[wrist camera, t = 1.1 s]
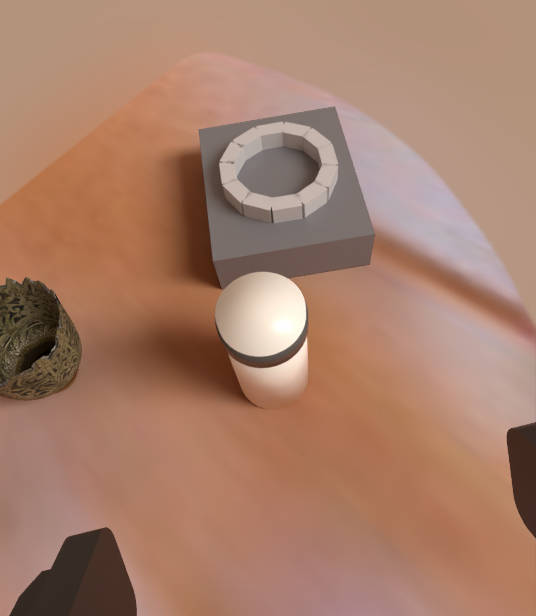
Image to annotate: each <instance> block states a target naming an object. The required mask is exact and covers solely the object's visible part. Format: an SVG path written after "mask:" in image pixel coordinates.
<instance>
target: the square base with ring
mask: <svg viewBox="0 0 536 616" xmlns="http://www.w3.org/2000/svg"><path fill="white" fill-rule="evenodd" d="M199 138H200V148H201V157H202V166H203V175H204V184H205V193H206V203H207V212H208V221H209V230H210V239H211V248H212V258H213V263H214V266H215V269H216V272H217V276H218V279H219V282H220V285H221V288H222V289H225V288H226V287H227V286H228V285H229V284H230V283H232V282H233V281H234V280H236V279H237V278H239V277H241V276H244V275H246V274H250V273H254V272H272V273H276V274H279V275H282V276H284V277H286V278H292V277H298V276H304V275H310V274H316V273H322V272H328V271H334V270H340V269H346V268H352V267H358V266H364V265H370V260H371V254H372V248H373V242H374V236H375V233H374V230H373V226H372V223H371V220H370V217H369V214H368V210H367V207H366V204H365V201H364V198H363V194H362V191H361V188H360V185H359V182H358V178H357V175H356V172H355V169H354V166H353V163H352V159H351V156H350V153H349V150H348V147H347V143H346V140H345V137H344V134H343V131H342V127H341V124H340V121H339V118H338V115H337V111H336V108H335V107H329V108H323V109H317V110H311V111H305V112H299V113H294V114H288V115H282V116H276V117H270V118H264V119H258V120H252V121H246V122H240V123H234V124H228V125H223V126H217V127H211V128H205V129H199Z"/></svg>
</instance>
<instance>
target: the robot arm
mask: <svg viewBox="0 0 536 616" xmlns="http://www.w3.org/2000/svg"><path fill="white" fill-rule="evenodd" d="M507 446H508V454H509V462H510V470H511V478H512V486H513V494H514V500H515V503H516V507H517V509H518V512H519V514H520V516H521V518H522V520H523V522H524V524H525V525H526V527H527V528H528V530H529V531H530V532H531V533H532V534H533V536H534V537H535V538H536V422H535V423H531V424H527V425H523V426H519V427H515V428H511V429H509V430H508V432H507ZM10 616H137V608H136V599H135V594H134V590H133V587H132V584H131V582H130V579H129V576H128V573H127V570H126V568H125V565H124V562H123V559H122V557H121V554H120V551H119V548H118V546H117V543H116V540H115V537H114V535H113V533H112V531H111V530H110V529H109V528H107V527H106V528H101V529H97V530H93V531H89V532H85V533H81V534H77V535H73V536H69V537H67V538H66V539H65V541H64V543H63V545H62V547H61V549H60V551H59V553H58V555H57V557H56V560H55V562H54V564H53V566H52V568H51V569H50V570H46V571H42V572H41V573H40V574H39V575H38V576H37V577H36V579H35V580H34V581H33V582H32V583H31V584H30V585H29V586H28V587H27V589H26V590H25V591H24V592H23V593H22V594H21V595H20V596H19V598H18V600H17V602H16V604H15V606H14V608H13V610H12V612H11V614H10Z"/></svg>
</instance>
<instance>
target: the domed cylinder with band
mask: <svg viewBox="0 0 536 616" xmlns="http://www.w3.org/2000/svg"><path fill="white" fill-rule="evenodd" d="M215 324H216V329H217V332H218V334H219V337H220V340H221V342H222V344H223V346H224V348H225V350H226V351H227V353H228V355H229V358H230V361H231V363H232V366H233V368H234V371H235V373H236V376H237V379H238V381H239V384H240V386H241V389H242V391H243V393H244V395H245V396H246V398H247V399H248V400H249V401H251V402H252V403H253V404H255V405H256V406H259V407H261V408H264V409H271V410H275V409H282V408H285V407H288V406H290V405H292V404H293V403H294V402H296V401H297V400H298V399H299V398H300V397H301V396H302V394H303V393H304V391H305V389H306V387H307V383H308V353H307V333H308V310H307V305H306V302H305V300H304V297H303V295H302V293H301V291H300V290H299V288H298V287H297V286H296V285H295V284H294V283H293V282H292V281H291V280H289V279H288V278H286V277H284V276H282V275H279V274H276V273H272V272H254V273H250V274H246V275H244V276H241V277H239V278H237V279H236V280H234V281H233V282H232V283H230V284H229V285H228V286H227V287H226V288H225V289H224V291H223V292H222V293H221V295H220V297H219V299H218V301H217V304H216V309H215Z"/></svg>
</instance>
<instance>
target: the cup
mask: <svg viewBox="0 0 536 616" xmlns="http://www.w3.org/2000/svg"><path fill="white" fill-rule="evenodd" d="M81 353H82V349H81V341H80V338H79V334H78V332H77V330H76V328H75V326H74V324H73V322H72V320H71V319H70V317H69V316H68V314H67V312H66V311H65V309H64V308H63V306H62V305H61V303H60V302H59V300H58V298H57V296H56V294H55V293H54V291H53V290H52V289H51V290H49V289H48V288H47V287H46V286H45V285H44V284H43V283H42V282H40V281H36V282H35V281H32V280H31V279H29V278H27V277H26V278H25V279H24V281H23V283H22V285H21V284H20V283H18V282H17V281H15V280H12V279H10V278H6V285H0V395H1V396H4V397H8V398H13V399H18V400H36V399H41V398H44V397H47V396H50V395H52V394H56V393H59V392H62V391H64V390H66V389H67V388H68V387H70V386H71V385H72V383H73V382H74V381H75V379H76V377H77V374H78V368H79V364H80V360H81Z"/></svg>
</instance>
